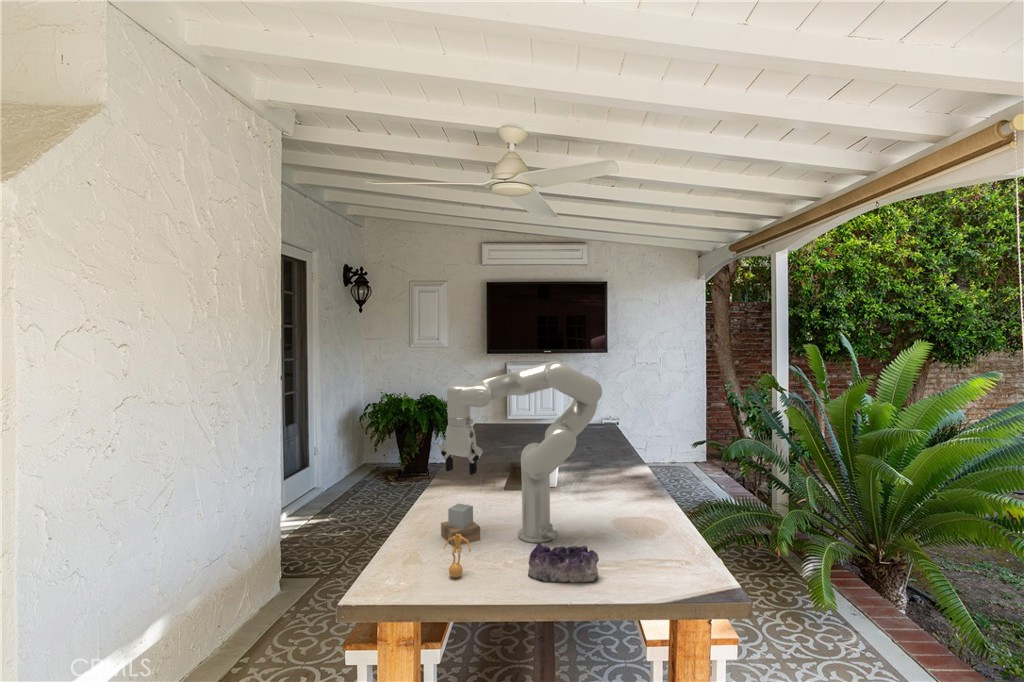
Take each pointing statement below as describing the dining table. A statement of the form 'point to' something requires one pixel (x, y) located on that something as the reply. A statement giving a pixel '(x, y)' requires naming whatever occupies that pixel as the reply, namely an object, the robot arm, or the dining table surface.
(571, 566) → the geode
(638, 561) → the dining table surface
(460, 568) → the figurine
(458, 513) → the slate block
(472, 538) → the walnut block
